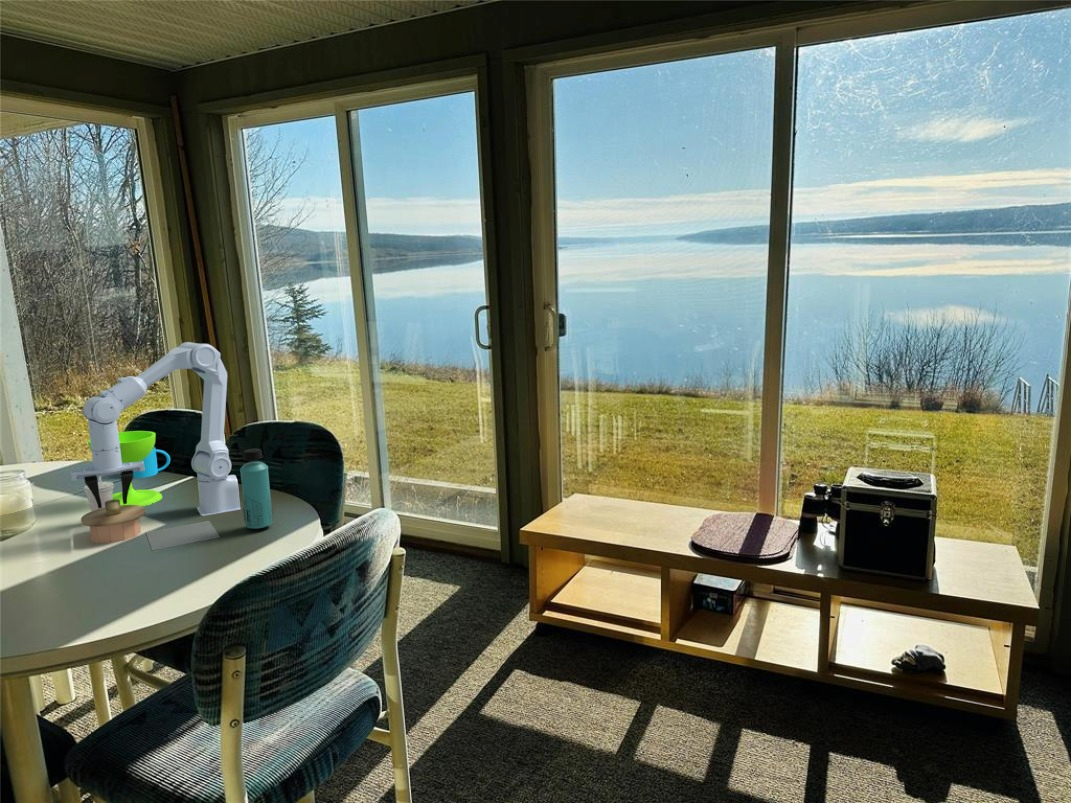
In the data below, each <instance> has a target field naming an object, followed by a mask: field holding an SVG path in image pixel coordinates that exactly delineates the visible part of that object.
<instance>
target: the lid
mask: <svg viewBox="0 0 1071 803" xmlns="http://www.w3.org/2000/svg"><path fill="white" fill-rule="evenodd" d="M145 514H146V508H145V506H143V507H142V506H138V505H120V500H117V499H115V500H109V501H106V502H105V508H102V509H98V510H95V511H92V512H91V511H90V512H87V513H84V514H83V515H82V516H81V518H80V522H81V524H82V525H84V526H86V527H90V526H94V527H99V526H111V525H117V524H122V523H126V522H130V521H133V520H136V519H138V518H139V519H141V517H143V516H145Z"/></svg>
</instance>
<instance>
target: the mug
mask: <svg viewBox="0 0 1071 803" xmlns="http://www.w3.org/2000/svg"><path fill="white" fill-rule="evenodd" d="M157 453H160V454H163V455H164V456H165V457H166V462H165V464H164V465H163V466H162V467H159V468H158V462H157V461H158V460H157V459H158V458H157ZM142 461H143V463H144V469H145V471H134V472H133V474H134V476H133V479H142V478H143V479H144V478H151V477H154V476H156V475H158V474H159V472H160V471H163V470H165V469H166V468H167V467H168V466H169V464H171V456H170V455H169V454H168V453H167V452H166V451H165V450H162V449H156V447H155V446H154V447H153V450H152V451H151V452H150V454H149V455H148V456H147V457H146V458H145V459H143V460H142ZM142 461H141V462H142ZM157 473H158V474H157Z"/></svg>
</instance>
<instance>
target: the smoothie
mask: <svg viewBox="0 0 1071 803" xmlns="http://www.w3.org/2000/svg"><path fill="white" fill-rule="evenodd" d="M97 479H98V488H99V495H100V500H101V505H102V508H105V502H106V501H109V500H112V495H113V494H114V490H113V489H114V488H115V485H114V482H112V481H102V476H99V477H97ZM83 490H84V491H83V492H84V493H85V494H86V498H87V501H88V504H89V508H90V512H92V511H95V510H98V509H102V508H98V504H97V502H96V499H95V497H94V495H93V494H92V492H91V490H90V489H89V488H88V486H87V485H86V484H85V486H84V487H83Z"/></svg>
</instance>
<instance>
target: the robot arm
mask: <svg viewBox="0 0 1071 803" xmlns="http://www.w3.org/2000/svg"><path fill="white" fill-rule="evenodd" d="M187 369H188V370H191V371H193V372H195V373H196V374H197V375H198V376H199V377H200V378H201V379H203V392H202V393H203V396H202V397H203V398H202V413H201V429H200V430H201V431H200V441H199V442H198V443H197V444H196V446H195V453H194V454H193V457H191V463H190V464H191V468H192V470H193V471H194V472H196V474H197V475H196V476H197V477H196V479H197V490H198V498H199V506H197V507H196V509H197V512H199V514H200V516H201V517H205V516H211V515H216V514H222V513H228V512H233V511H239V510H241V501H240V491H239V490H240V489H239V483H238V482H239V481H238V478H237V475H235V474H230V475H229V473H230V472H231V470H232V461H231V459H230V456H229V455H230V454H229V453H230V451H229V449H228V446H227V445H226V442H224V441H225V424H226V423H225V422H226V408H227V407H226V405H227V404H226V403H227V391H228V388H227V387H228V386H227V385H228V371H227V370H226V367H225V365H224V363H223V361H222V359H221V352H220V351H218V349H216V348H215V347H214V346H213V345H211V344H210V343H196V342H190V341H187V342H186V341H185V342H183V343H180V345H179V346H176V347H174V348H172V349H171V350H169V352H168V353H167V354H165V355H164V356H162V357H161V358H160V359H158V360H157V361H156V362H154V363H153V364H152V365H151V366H149V367H148V368H146V369H145V370H144V371H142V372H140V374H138V375H137V376H133V375H128V376H126V377H125V376H124V377H123V376H121V377H120V378H117V381H118V382H117V383H115V384H113V386H111V387H109V388H107V389H106V390H105V389H104V390H100V392H99V396H92V397H90V398H89V399H87V400H86V401H85V403H84V405H83V408H82V410H81V413H82V415H83V417H84V418H85V419H87V423H88V434H89V435H88V436H89V439H90V444H91V450H90V452H91V457H92V458H91V459H92V466H91V467H85V468H81V469H75V470H70V474H71V476H70V477H71V481H72V482H73V481H74V482H75V481H79V480H83V479H84V483H85V486H86V485H87V486H88V488H89V489H90V490H91V492H92V494H93V495H94V497H95V499H96V502H97V504H98V508H102V505H101V500H100V495H99V488H98V482H99V479H98V477H99V476H101V477H105V476H111V475H120V481H121V489H122V491H121V492H122V498H123V504H127V496H128V491H129V487H130V484H131V482H132V481H133V479H134V478H133V476H134V474H133V472H134V471H145V469H144V463H143V461H142V462H131V463H122V460H121V451H120V443H119V434H118V432H119V428H118V422H117V421H118V419H119V418H120V416H121V414H122V412H123V411H124V410H126V409H128V408H129V407H130V406H132V405H133V404H135V402H137V401H138V400H140V399H142V398H143V397H144V396H146V394H147V389H148V387H150V386H151V385H153V384H155V383H156V382H158V381H160V380H161V379H163V378H164V377H166V376H169V374H170V373H174V371H176V370H187Z"/></svg>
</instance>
